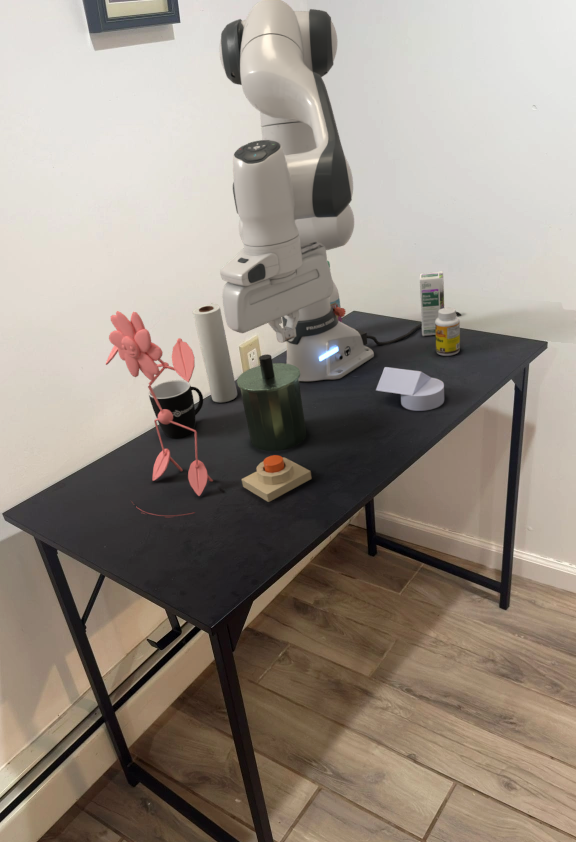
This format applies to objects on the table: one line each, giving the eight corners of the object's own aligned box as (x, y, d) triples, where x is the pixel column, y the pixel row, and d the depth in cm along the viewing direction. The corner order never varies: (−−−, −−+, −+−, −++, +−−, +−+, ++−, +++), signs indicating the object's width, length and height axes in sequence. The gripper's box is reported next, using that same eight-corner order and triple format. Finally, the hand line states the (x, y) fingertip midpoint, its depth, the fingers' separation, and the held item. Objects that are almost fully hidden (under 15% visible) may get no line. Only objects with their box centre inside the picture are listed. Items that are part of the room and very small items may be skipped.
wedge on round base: (376, 404, 154) (432, 413, 147) (374, 375, 150) (431, 383, 143) (396, 387, 160) (451, 394, 153) (394, 358, 156) (450, 365, 149)
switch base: (285, 467, 138) (282, 448, 136) (312, 481, 132) (309, 462, 130) (243, 489, 133) (239, 470, 131) (269, 504, 128) (265, 485, 125)
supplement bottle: (432, 350, 174) (431, 309, 168) (454, 345, 174) (454, 304, 168) (440, 358, 169) (439, 316, 163) (463, 353, 169) (463, 311, 164)
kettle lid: (275, 363, 147) (271, 339, 145) (313, 377, 139) (310, 352, 136) (225, 385, 142) (220, 360, 139) (262, 401, 133) (257, 375, 130)
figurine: (158, 458, 148) (110, 290, 129) (246, 491, 132) (207, 305, 113) (98, 494, 139) (37, 319, 120) (185, 534, 124) (131, 341, 104)
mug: (175, 445, 152) (164, 402, 146) (152, 434, 158) (140, 392, 152) (219, 422, 158) (210, 379, 152) (195, 412, 164) (185, 371, 158)
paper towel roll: (224, 405, 165) (205, 314, 153) (206, 400, 169) (186, 311, 157) (246, 392, 169) (229, 303, 157) (228, 388, 173) (210, 300, 161)
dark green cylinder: (283, 420, 154) (274, 361, 147) (318, 436, 146) (309, 375, 139) (240, 441, 149) (228, 381, 142) (273, 459, 141) (262, 396, 133)
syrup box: (421, 336, 182) (419, 279, 174) (422, 328, 186) (419, 272, 178) (445, 335, 180) (443, 277, 172) (444, 326, 185) (443, 269, 177)
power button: (276, 461, 133) (275, 453, 132) (288, 467, 130) (287, 459, 129) (261, 469, 131) (259, 461, 130) (272, 475, 129) (271, 467, 128)
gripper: (311, 236, 121) (321, 315, 129) (210, 273, 112) (228, 356, 120) (336, 240, 116) (345, 322, 124) (233, 279, 107) (249, 365, 115)
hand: (287, 339), depth 122 cm, fingers closed
